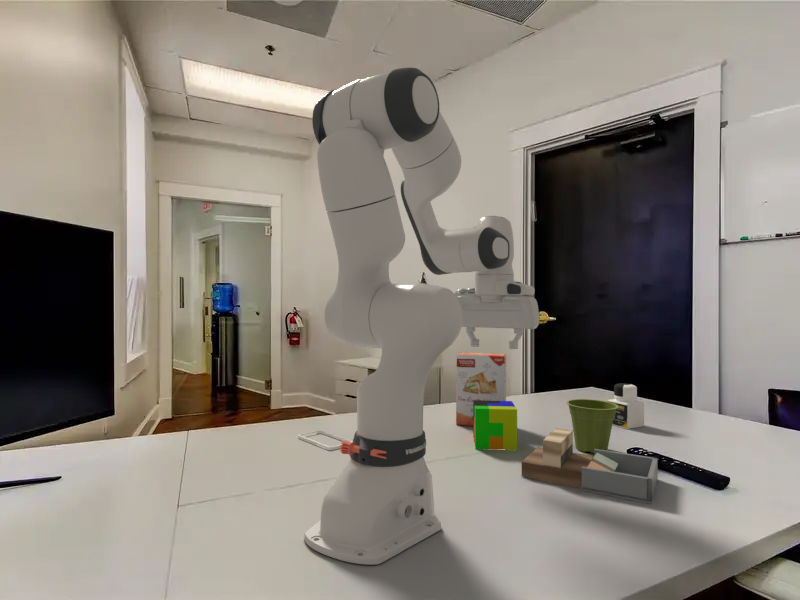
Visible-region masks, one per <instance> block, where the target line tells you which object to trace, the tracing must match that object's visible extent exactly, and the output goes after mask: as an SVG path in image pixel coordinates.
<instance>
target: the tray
mask: <svg viewBox="0 0 800 600" xmlns="http://www.w3.org/2000/svg"><path fill="white" fill-rule="evenodd" d="M596 453H599V454H601V455H603V456H605V457H607V458H609V459H611V460H613V461H615V462H617V463H618V466H617V468H616V470H615V472H612V471H606V470H601V469H595V468H589V467H583V466H582V488H581V491H584V492H589V493H595V494H599V495H606V496H609V497H610V496H611V497H615V498H620V499H625V500H629V501H636V502H641V503H645V504H651V505H652V504H653V501H654V497H655V492H656V488H657V484H658V473H659V472H658V470H659V469H658V468H659V467H658V463H659V462H658V460H659V459H658V458H657V457H652V456H645V455H639V454H632V453H626V452H625V453H624V452H621V451H619V452H618V451H612V450H608V449H607V450H600V449H594V453H593V456H595V454H596Z"/></svg>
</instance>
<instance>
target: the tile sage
mask: <svg viewBox="0 0 800 600" xmlns="http://www.w3.org/2000/svg"><path fill="white" fill-rule="evenodd" d="M593 456H594V455H593ZM592 461H593V462H595V463H597V464H599V465H601V466H602V467H604V468H606V469H608V470H610V471H612V472H615V470H616V468H617V466H618V463H617V462H615V461H613V460H611V459H609V458H607V457H605V456H603V455H601V454H599V453H596V454H595V456H594V457H593V459H592Z"/></svg>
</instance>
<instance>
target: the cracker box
mask: <svg viewBox="0 0 800 600" xmlns="http://www.w3.org/2000/svg"><path fill="white" fill-rule="evenodd" d="M455 384H456V386H455V387H456V389H455V390H456V397H455V398H456V399H455V401H456V403H455V408H456V409H455V425H457V426H458V425H459V426H471V427H473V400H480V401H507V354H505V353H486V352H465V351H464V352H459V353H457V354H456V383H455Z"/></svg>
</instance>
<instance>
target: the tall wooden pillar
mask: <svg viewBox="0 0 800 600" xmlns="http://www.w3.org/2000/svg"><path fill="white" fill-rule="evenodd" d="M573 438H574V432H573V430H572V429H565V428H557V427H555V428H554V430H553V431H551V432H549V434H548V435H547V436H546V437H545V438H544V439H542V448H543V465H546V466H552V467H558V468H561V467H562V466H563V465H564V463H565V462H566V461H567V460H568V458H569V457H570V456H571V455H572V453H574V451H573V446H574V445H573V443H574V441H573Z"/></svg>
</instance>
